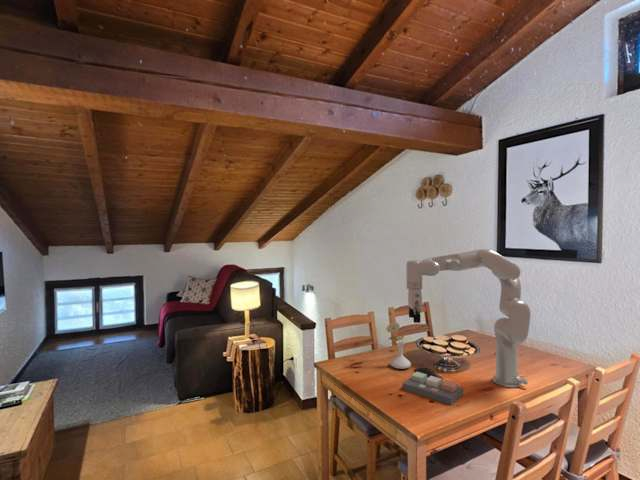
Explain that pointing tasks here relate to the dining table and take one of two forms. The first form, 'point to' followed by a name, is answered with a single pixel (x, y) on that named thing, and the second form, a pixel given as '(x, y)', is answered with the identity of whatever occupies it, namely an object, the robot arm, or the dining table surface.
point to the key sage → (419, 377)
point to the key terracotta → (450, 386)
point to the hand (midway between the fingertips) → (414, 319)
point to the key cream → (434, 381)
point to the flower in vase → (399, 359)
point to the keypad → (432, 391)
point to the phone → (427, 372)
